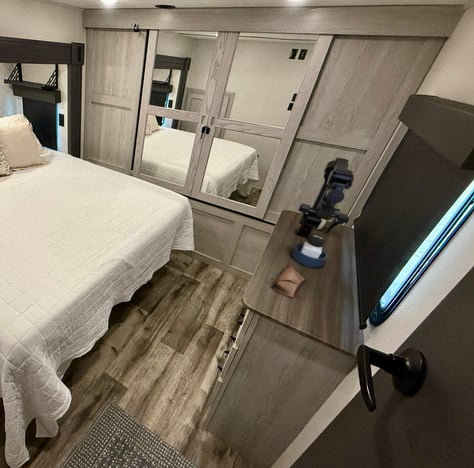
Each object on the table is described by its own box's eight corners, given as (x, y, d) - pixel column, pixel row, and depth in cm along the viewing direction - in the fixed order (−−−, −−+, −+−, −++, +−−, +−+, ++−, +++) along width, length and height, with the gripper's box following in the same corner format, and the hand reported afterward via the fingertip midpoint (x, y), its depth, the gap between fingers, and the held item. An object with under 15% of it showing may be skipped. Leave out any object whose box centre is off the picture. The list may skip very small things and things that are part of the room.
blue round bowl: (292, 248, 143) (296, 240, 141) (322, 258, 137) (327, 249, 135) (289, 260, 134) (294, 252, 131) (322, 271, 128) (327, 262, 125)
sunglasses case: (294, 298, 110) (290, 282, 109) (274, 296, 116) (271, 281, 115) (306, 278, 122) (303, 264, 121) (287, 278, 127) (284, 264, 126)
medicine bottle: (314, 265, 131) (326, 244, 125) (297, 259, 135) (308, 238, 128) (315, 258, 136) (327, 237, 130) (299, 252, 140) (309, 232, 133)
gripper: (306, 196, 121) (291, 228, 128) (358, 208, 113) (340, 242, 120) (305, 191, 130) (292, 221, 137) (354, 202, 121) (337, 234, 128)
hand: (314, 229), depth 130 cm, fingers open, 9 cm apart
